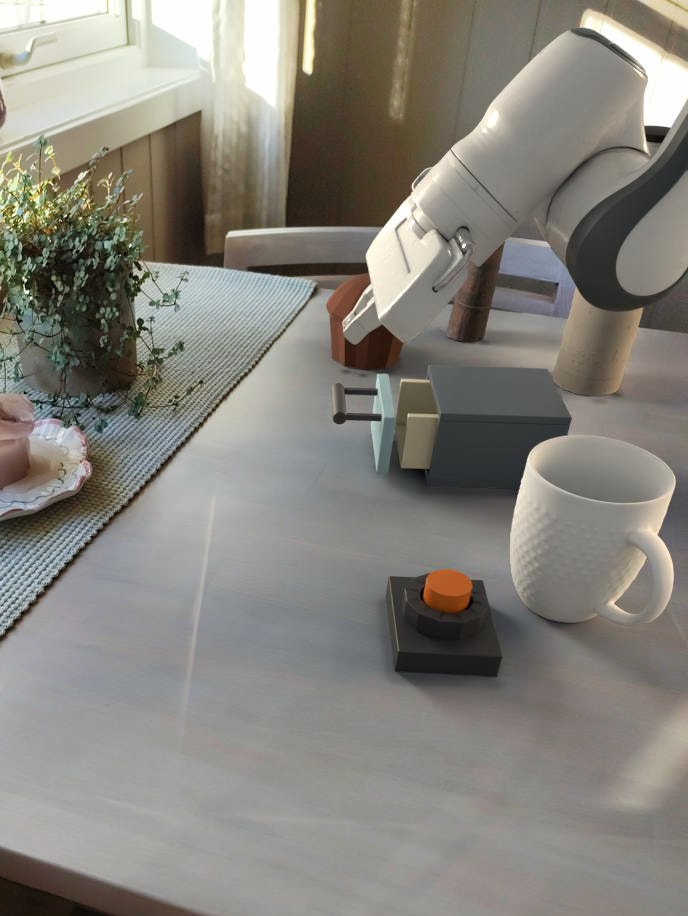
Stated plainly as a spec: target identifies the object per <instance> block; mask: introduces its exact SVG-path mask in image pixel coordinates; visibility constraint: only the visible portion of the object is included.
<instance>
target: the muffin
mask: <svg viewBox="0 0 688 916" xmlns="http://www.w3.org/2000/svg"><path fill="white" fill-rule="evenodd" d="M370 284H371V280H370V275H369V272H368V273H367V272H366V273H360V274H357V275H355V276H353V277H351V278H349V279H347V280H345V281H344V282H342V283H340V285H338V287H337V288H335V290H334V292H333V293H332V294H331V296H330V297H328V300H327V302H326V304H325V308H326V311H327V313H328V314H329V325H330V326H329V328H330V329H329V330H330V343H331V359H332V360H334V361H336V362H338V363H340V364H341V365H342V366H343V367H347V368H354V369H358V370H362V371H369V370H380V369H381V370H382V369H383V370H385V369H387V368H388V367H390V366H392V365H395V364H396V363H398V362H399V360H400V357H401V353H402V350H403V347H404V344H405V343H403V342H401V341H400V340H399V339H398V338H397V337H396V336H394V335H393V334H392V333H391V332H390V331H389V330H388V329H387V328H386V327H385V326H384V325H383V324H382V325H381V326H379V327H377V328H376V329H374V330H372V331H371V332H369V333H368V334H367V335H366V336H365V337H364V338H363V339H362V340H361V341H360V342H359V343H358V344H352V343H351V342H350V341H349V340H347V339H346V338H345V337H344V333H343V324H342V322H343V320H344V319H345V318H346V317H347V316H348V315H349V314H350V313H351V311H352V310H353V309H354V307H355V306H356V304H357V302H358V301H359V299H360V297H361V296H362V294H363V292H364V291H365V290H366V289H367V288H368V286H369V285H370Z"/></svg>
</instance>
